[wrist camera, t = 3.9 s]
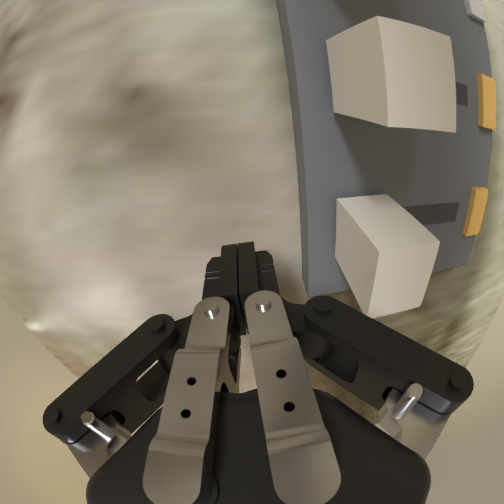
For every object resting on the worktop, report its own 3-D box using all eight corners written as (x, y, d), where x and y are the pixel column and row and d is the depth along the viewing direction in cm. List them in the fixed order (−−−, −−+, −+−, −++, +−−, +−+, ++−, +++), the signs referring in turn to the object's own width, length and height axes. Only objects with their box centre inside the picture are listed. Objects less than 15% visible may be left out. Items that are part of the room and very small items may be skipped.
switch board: (255, -86, 5) (258, -106, 3) (444, -44, 4) (463, -50, 2) (302, 278, 19) (310, 302, 17) (453, 251, 18) (469, 268, 16)
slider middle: (325, 40, 9) (376, 15, 5) (383, 46, 9) (450, 36, 4) (333, 112, 11) (387, 127, 7) (388, 113, 11) (455, 132, 6)
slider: (336, 198, 13) (379, 252, 9) (386, 194, 13) (440, 241, 9) (334, 256, 15) (366, 320, 11) (380, 249, 15) (420, 306, 11)
